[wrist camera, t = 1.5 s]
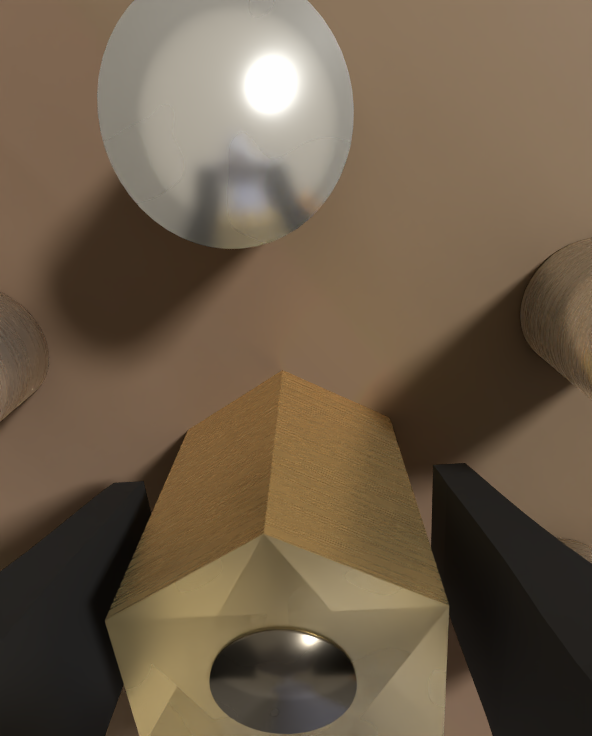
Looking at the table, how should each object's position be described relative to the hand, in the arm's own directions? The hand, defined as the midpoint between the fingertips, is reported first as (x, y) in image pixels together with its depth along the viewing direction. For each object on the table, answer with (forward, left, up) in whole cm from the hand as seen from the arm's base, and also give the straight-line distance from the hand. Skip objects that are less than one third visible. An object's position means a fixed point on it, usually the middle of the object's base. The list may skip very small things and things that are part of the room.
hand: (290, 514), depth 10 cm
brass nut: (0, 0, -2) cm, 2 cm away
